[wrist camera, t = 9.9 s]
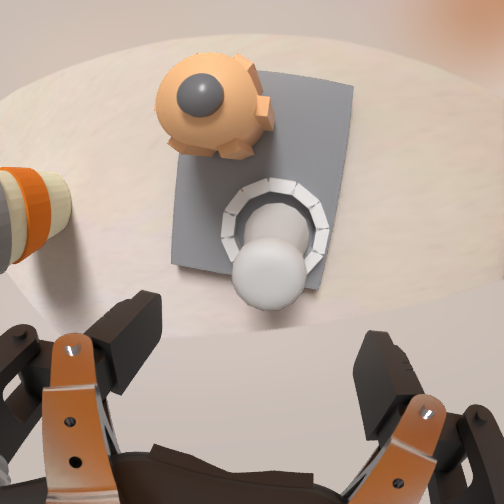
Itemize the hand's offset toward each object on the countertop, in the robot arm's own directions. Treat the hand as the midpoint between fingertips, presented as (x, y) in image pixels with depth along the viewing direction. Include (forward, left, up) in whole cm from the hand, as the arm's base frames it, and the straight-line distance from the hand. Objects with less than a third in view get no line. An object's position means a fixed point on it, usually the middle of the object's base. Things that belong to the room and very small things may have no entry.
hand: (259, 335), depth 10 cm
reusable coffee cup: (+32, +1, -20) cm, 38 cm away
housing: (+3, -5, -20) cm, 21 cm away
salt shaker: (0, 0, -18) cm, 18 cm away
